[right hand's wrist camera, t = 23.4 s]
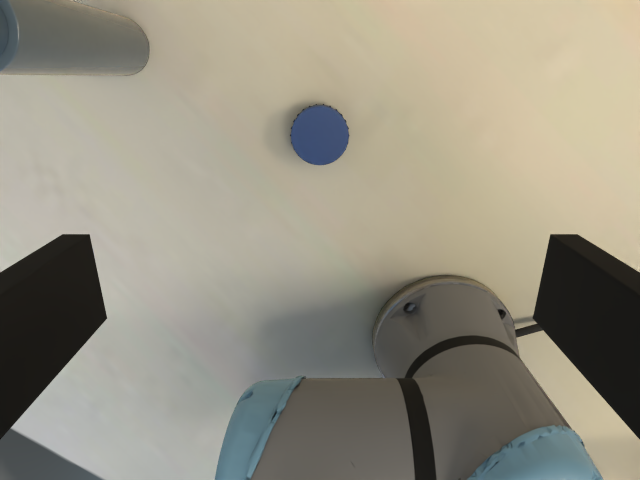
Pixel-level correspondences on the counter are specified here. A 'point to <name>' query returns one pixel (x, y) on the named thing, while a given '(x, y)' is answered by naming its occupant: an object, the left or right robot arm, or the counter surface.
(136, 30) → the grey long cylinder
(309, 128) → the lid
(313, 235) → the counter surface
